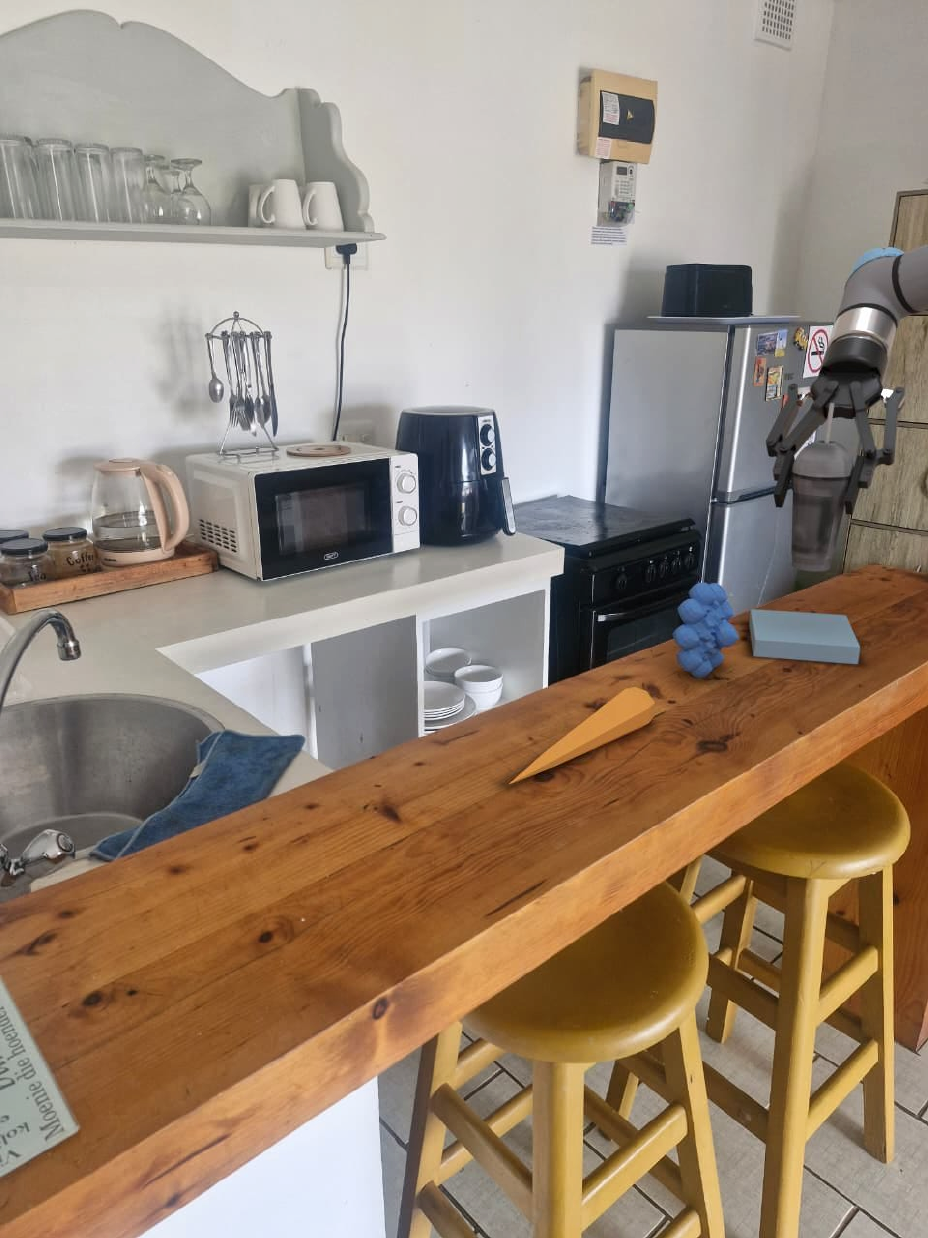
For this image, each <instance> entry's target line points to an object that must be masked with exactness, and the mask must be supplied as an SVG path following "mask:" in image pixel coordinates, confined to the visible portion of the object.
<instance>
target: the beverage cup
mask: <svg viewBox="0 0 928 1238" xmlns="http://www.w3.org/2000/svg"><path fill="white" fill-rule="evenodd" d="M833 411H834V403H830V406H829V413H828V419H827V420H826V426H825V427H826V428H825V435H824V440H823V439H822V440H816V441H812V442H810V443H809V444H807V445H806V446H805V447H803V448H801V450H799V453H798V454H797V456H796V457H795V461H794V464H793V467H792V471H791V473H790V475H791V481H790V487H791V491H792V503H791V504H792V505H791V507H792V509H791V510H792V511H791V546H790V547H791V549H790V551H791V566H792V567H793V568H794V569H796V570H800V571H804V572H816V573H817V572H825V571H830V569H831V564H832V560H833V558H834V555H835V550H836V546H837V542H838V537H839V532H840V528H841V524H842V519H843V514H844V510H845V498H846V494H847V491H848V487H849V483H850V480H851V476H852V473H853V469H854V466H855V463H854V460H853V458H852V455H851V453H850V451H849V450H848V449H847V447H845V446H844V445H843V444H841V443H839V442H837V441H835V440H831V432H832V425H833V419H834V418H833Z"/></svg>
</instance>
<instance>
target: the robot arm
mask: <svg viewBox="0 0 928 1238" xmlns="http://www.w3.org/2000/svg"><path fill="white" fill-rule="evenodd" d="M926 310H928V243H926V244H924V245H921V246H919V247H917V248H914V249H912V250H910V251H907V252H906V251H903V250H901V249H899V248H896V247H891V246H888V247H886V248H885V247H884V248H880V247H875V248H872V249H869V250H867V251H866V252H864V253H862V255H860V256H859V257H858V259H857V260H856V261H855V262H854V264H853V266H852V269H851V271H850V274H849V275H848V278H847V280H846V281H845V285H844V288H843V293H842V298H841V301H840V305H839V309H838V312H837V316H836V319H835V321H834V323H833V324H834V325H833V326H832V330H831V332H830V333H831V334H830V336H829V339H828V342H827V344H826V345H827V346H826V349H825V352H824V356H823V358H822V362H821V365H820V368H819V371H818V375H817V378H816V379H815V380H814V381H813V382H812V383H811V385H809V386H803V387H802V386H801V387H799V386H798V384H797V383H790V384H789V385H788V386H787V397H786V400H785V401H784V404H783V406H782V408H781V410H780V411H779V413H778V416H777V418H776V420H775V422H774V424H773V426H772V428H771V430H770V432H769V434H768V435H767V438H766V439H765V446H766V451H767V455H768V457H769V458H775V461H774V465H773V468H772V474H773V481H774V482H776V485H775V489H774V492H773V499H774V505H775V507H776V508H780V509H782V508H784V507H783V506H784V503H785V501H786V497H787V494H788V491H789V488H790V485H791V475H790V473H791V471H792V467H793V464H794V461H795V459H796V457H795V455H796V454H797V453H798V452H800V449H802V447H803V446H804V445H805V444H806V442H807V441H808V440H809V439H811V436H812V435H813V434H814V433H815V432H816V431H817V429H818V428H819V427H820V426H823V425H824V424H826V423H827V420H828V413H829V406H830V403H834V411H833V418H832V419H838V418H841V419H844V420H845V419H846V420H854V424H855V428H856V430H857V435H858V439H859V443H860V448H861V452H862V455H859V454H858V455H856V459H855V463H854V469H853V473H852V476H851V480H850V483H849V487H848V491H847V494H846V498H845V506H844V510H845V515H849V516H850V515H851V516H853V514H854V510H855V508H856V504H857V501H858V496H859V493H860V489H865V490H866V489H867V490H868V489H869V488H870V487H871V485H872V481H873V478H874V474H875V470H876V468H877V467H878V466H881V465H884V466H888V467H889V466H892V465H894V463H895V461H896V460H895V459H896V446H897V435H898V423H899V415H900V413H901V411H902V410H903V408H904V406H905V404H906V402H905V401H906V389H905V387H903V386H897V387H895V388H894V389H889V388H884V385H883V382H884V381H883V380H884V377H885V374H886V370H887V366H888V362H889V357H890V356H891V352H892V348H893V345H894V340H895V337H896V333H897V330H898V328H899V325H900V321H901V320H902V319H904V318H906V317H909V316H912V315H916V314H918V313H922V312H924V311H926ZM809 398H811V399H812V400H813V402H812V403H811V405H810V409H809V410H808V411H807V412H806V414H805V415H804V416H803V417H802V418H801V420H800V421H799V422H798V423H797V424H796V426H795V427H794V428H793V429H792V430H791V428H792V426H793V425H794V422H795V420H796V418H797V416H798V414H799V410H800V407H803V406H804V404H805V403H806V401H807V400H808V399H809ZM880 401H882V405H883V408H885V421H884V433H883V444H882V448H878V449H877V447H876V444H875V440H874V436H873V432H872V427H871V424H870V420H869V415H868V410H870V409H871V408H872V407H873V406H874V405H876V404H877V403H879V402H880ZM790 430H791V431H790Z"/></svg>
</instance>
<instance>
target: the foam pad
mask: <svg viewBox="0 0 928 1238" xmlns="http://www.w3.org/2000/svg"><path fill="white" fill-rule="evenodd" d="M748 623H749V624H748V625H749V632H750V640H751V648H752V654H753V655H752V656H753V657H758V658H759V657H760V658H770V659H771V658H774V659H785V660H787V659H788V660H799V661H810V662H823V663H836V664H848V665H849V664H850V665H858V664H859V659H860V653H861V646H860V643H859V641H858V639H857V637H856V634H855V633H854V629H853V628H852V626H851V623H850V622H849V619H848V617H847V614H846V615H845V614H832V613H831V614H829V613H818V612H817V613H816V612H801V611H800V612H799V611H785V610H769V609H755V608H754V609H753V608H751V609H750V614H749V622H748Z"/></svg>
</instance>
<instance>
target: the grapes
mask: <svg viewBox="0 0 928 1238" xmlns="http://www.w3.org/2000/svg"><path fill="white" fill-rule="evenodd" d="M688 595H689V597H690V598H687V599H686V600H683V601H682V602H681V603H680V605H679V606H677V609H676V610H677V612H678V615H679V617H680V619H681V620H682V622H683V623H684V624H681V625H680V626H678V627H677V628H676V629H675V630H674V631H673V632H672V638H673V641H674V643H675V645H676V646H677V647H678V648H679V649H680V650H679V651H678V652H677V654H676V655H675V657H676V661H677V663H678V665H679V666H680V668H681V669H682V670H684V671H686V672H689V673H690V675H691V676H693V677H695V678H696V679H703V678H705V677H707V676H708V675H710V673H711V672H712V671H713V670H714V669H716V668H718V667H719V666H720V665H721V664H723V662H724V661H725V657H724V654H723V652H722V649H723V648H724V649H725V648H726V649H727V648H730V647H732V646H734V645H735V644H737V642H738V641H739V640H740V637H739V634H738V631H737V629H736V628H735V626H734V625H733V624H731V623H730V622H729V621H730V620H731V619H732V618H733V617H734V615H735V614H734V610H733V608H732V606H731V604H730V603H729V601H727V600H728V595H727V593H726V591H725V589H724V588H723V586H722V585H721V584H719V583H718V582H711V583H709V584H708V582H698V583H696V584H695V585H693V586H692V587H691V588H690V590H689V591H688Z"/></svg>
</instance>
